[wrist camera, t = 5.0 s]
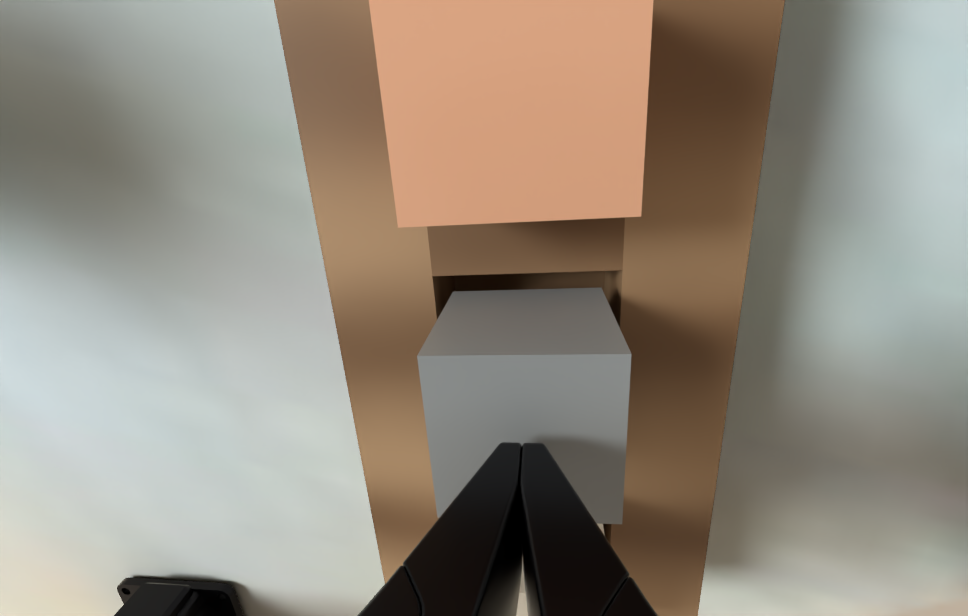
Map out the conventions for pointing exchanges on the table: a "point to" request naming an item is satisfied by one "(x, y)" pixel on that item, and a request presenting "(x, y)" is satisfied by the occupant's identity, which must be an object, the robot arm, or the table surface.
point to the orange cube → (514, 108)
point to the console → (553, 270)
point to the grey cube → (529, 389)
